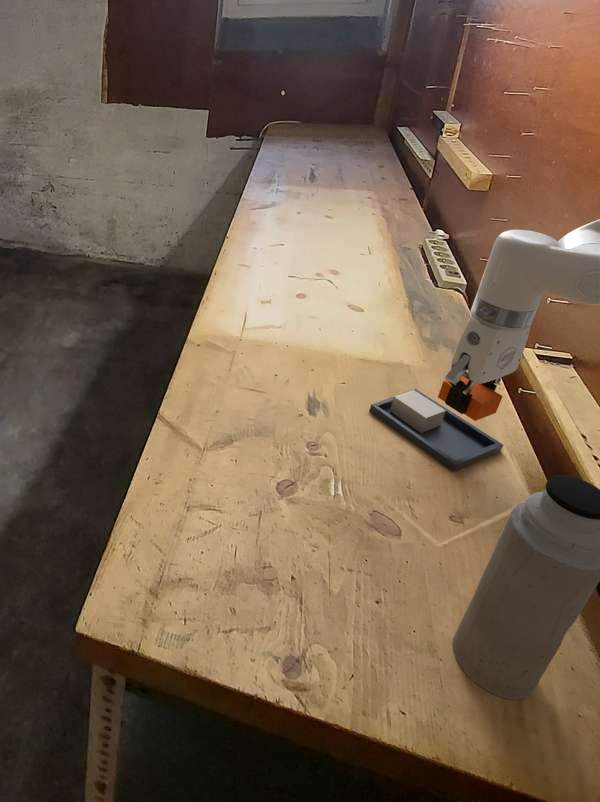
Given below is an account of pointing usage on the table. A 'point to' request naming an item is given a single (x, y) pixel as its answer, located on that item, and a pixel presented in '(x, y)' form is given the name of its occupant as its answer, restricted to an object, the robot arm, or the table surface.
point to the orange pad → (476, 400)
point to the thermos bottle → (532, 588)
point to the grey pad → (417, 411)
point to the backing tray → (443, 437)
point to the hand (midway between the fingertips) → (467, 403)
